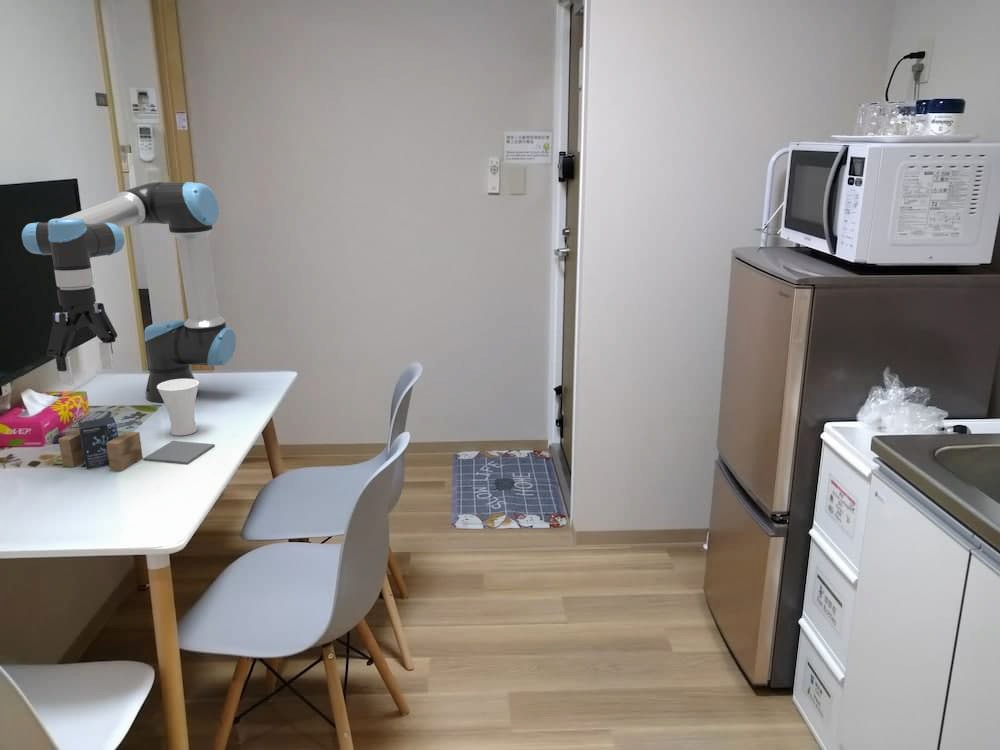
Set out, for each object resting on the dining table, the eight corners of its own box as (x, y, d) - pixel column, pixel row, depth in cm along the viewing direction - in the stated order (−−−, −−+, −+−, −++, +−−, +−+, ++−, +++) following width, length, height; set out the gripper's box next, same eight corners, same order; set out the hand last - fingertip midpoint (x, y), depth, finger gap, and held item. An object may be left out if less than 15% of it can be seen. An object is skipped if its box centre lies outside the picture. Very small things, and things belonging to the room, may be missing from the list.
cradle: (86, 453, 193) (81, 427, 191) (142, 458, 190) (138, 432, 188) (62, 465, 186) (58, 438, 184) (121, 471, 183) (117, 444, 181)
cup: (164, 441, 201) (158, 392, 198) (161, 428, 210) (155, 381, 206) (206, 434, 206) (201, 386, 202) (201, 422, 215) (196, 376, 211)
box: (86, 469, 184) (80, 428, 181) (84, 462, 188) (77, 421, 185) (122, 462, 188) (116, 422, 185) (119, 455, 192) (113, 415, 189)
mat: (172, 442, 200) (172, 440, 200) (214, 446, 198) (214, 444, 198) (143, 460, 189) (143, 458, 189) (187, 464, 187) (187, 462, 187)
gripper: (98, 278, 188) (110, 362, 194) (18, 295, 164) (34, 390, 170) (125, 279, 186) (136, 363, 192) (48, 296, 163) (63, 392, 169)
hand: (88, 376), depth 181 cm, fingers open, 13 cm apart
